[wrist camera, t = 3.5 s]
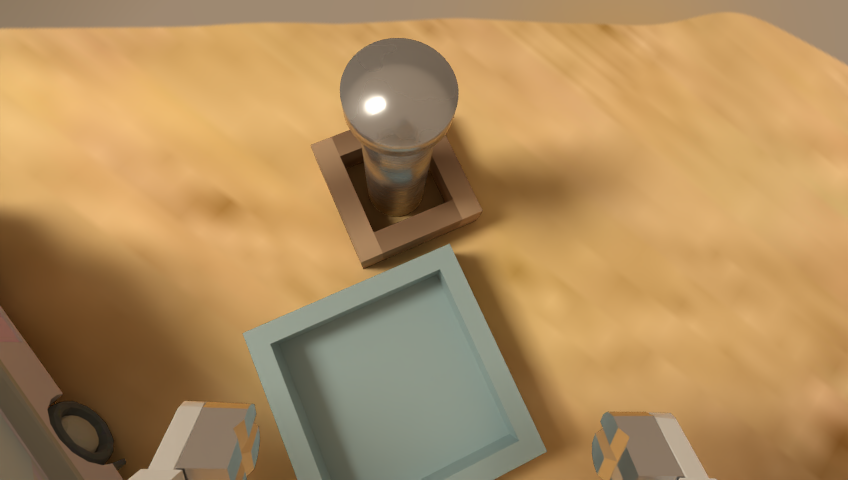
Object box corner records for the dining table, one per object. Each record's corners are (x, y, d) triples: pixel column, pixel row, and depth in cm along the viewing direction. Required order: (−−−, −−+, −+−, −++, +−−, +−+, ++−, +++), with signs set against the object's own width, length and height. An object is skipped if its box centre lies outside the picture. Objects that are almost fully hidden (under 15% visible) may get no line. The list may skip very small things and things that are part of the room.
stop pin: (443, 208, 28) (477, 119, 17) (376, 236, 27) (367, 163, 16) (414, 145, 28) (428, 22, 18) (347, 171, 28) (321, 60, 17)
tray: (532, 441, 25) (547, 451, 23) (335, 543, 24) (329, 565, 21) (444, 253, 27) (449, 243, 25) (256, 334, 26) (242, 333, 23)
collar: (476, 220, 28) (482, 210, 26) (363, 268, 27) (361, 262, 25) (425, 116, 29) (428, 100, 27) (316, 159, 28) (310, 145, 26)
